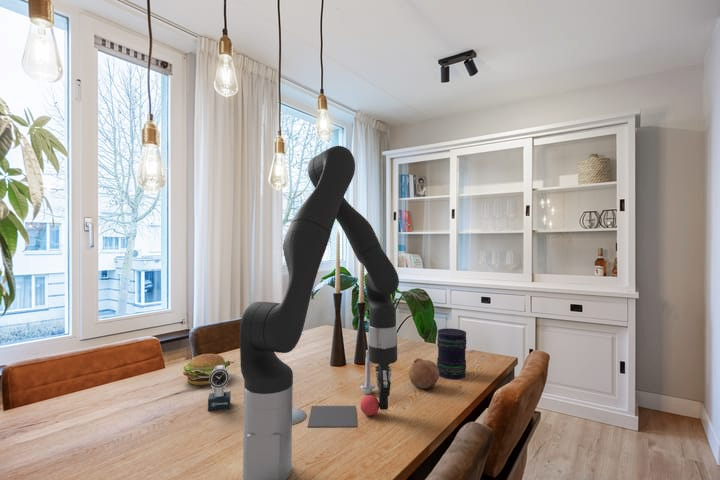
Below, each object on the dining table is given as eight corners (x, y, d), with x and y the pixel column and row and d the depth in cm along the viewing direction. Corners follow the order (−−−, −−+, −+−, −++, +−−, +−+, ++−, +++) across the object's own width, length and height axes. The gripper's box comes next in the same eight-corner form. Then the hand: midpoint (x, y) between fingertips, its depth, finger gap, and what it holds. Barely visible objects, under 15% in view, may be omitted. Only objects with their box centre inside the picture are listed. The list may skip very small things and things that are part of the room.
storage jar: (472, 377, 132) (472, 333, 132) (447, 381, 128) (448, 335, 129) (454, 368, 141) (455, 327, 141) (431, 371, 138) (431, 329, 138)
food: (173, 386, 121) (173, 360, 121) (198, 371, 135) (198, 348, 135) (214, 389, 119) (215, 363, 119) (235, 374, 133) (236, 350, 133)
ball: (381, 398, 101) (362, 395, 101) (378, 419, 100) (359, 415, 100) (379, 395, 106) (361, 392, 106) (377, 414, 104) (358, 411, 105)
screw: (356, 393, 117) (364, 388, 121) (370, 396, 114) (378, 391, 119) (357, 350, 117) (365, 346, 121) (371, 352, 114) (379, 348, 119)
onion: (411, 395, 123) (398, 365, 126) (434, 383, 128) (421, 354, 130) (426, 395, 115) (412, 362, 117) (450, 382, 119) (436, 350, 122)
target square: (356, 427, 96) (356, 426, 96) (307, 427, 95) (307, 426, 95) (355, 406, 108) (355, 405, 108) (311, 406, 107) (311, 405, 107)
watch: (207, 414, 101) (207, 372, 102) (210, 402, 109) (210, 362, 109) (229, 412, 103) (230, 370, 103) (231, 400, 111) (231, 361, 111)
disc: (303, 425, 96) (303, 424, 96) (263, 425, 96) (263, 424, 96) (307, 408, 106) (307, 407, 106) (270, 408, 106) (270, 407, 106)
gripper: (367, 336, 109) (367, 398, 109) (370, 350, 95) (370, 420, 96) (393, 336, 109) (394, 397, 109) (400, 349, 96) (401, 419, 96)
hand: (383, 408), depth 102 cm, fingers closed
